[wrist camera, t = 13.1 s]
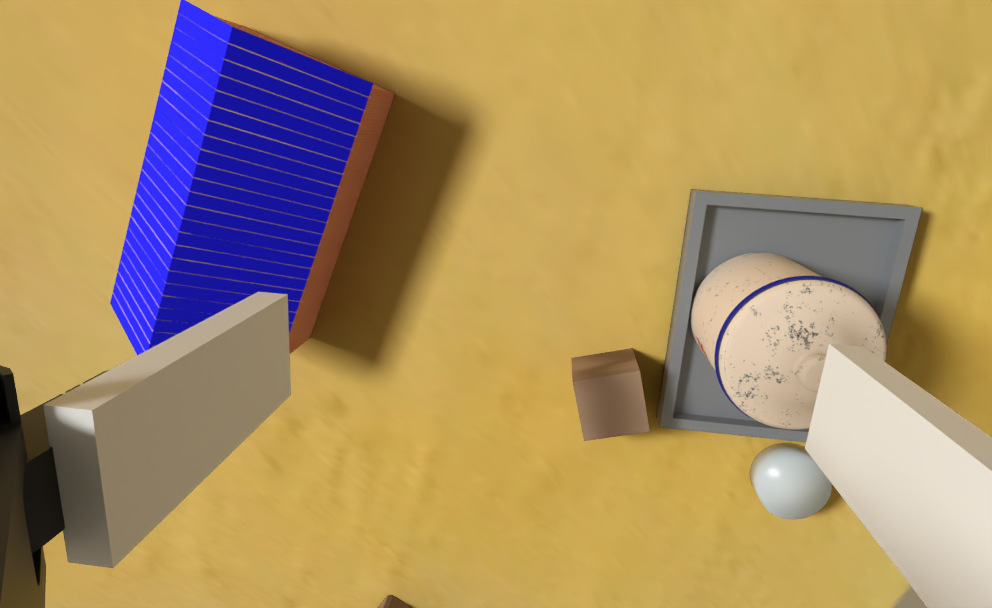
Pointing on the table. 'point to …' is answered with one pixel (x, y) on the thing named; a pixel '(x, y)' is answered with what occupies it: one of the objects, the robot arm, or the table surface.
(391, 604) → the decorative block
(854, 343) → the teacup with lid
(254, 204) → the house
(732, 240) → the tray
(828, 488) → the white egg-shaped dome
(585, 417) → the walnut cube
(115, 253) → the table surface
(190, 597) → the table surface
